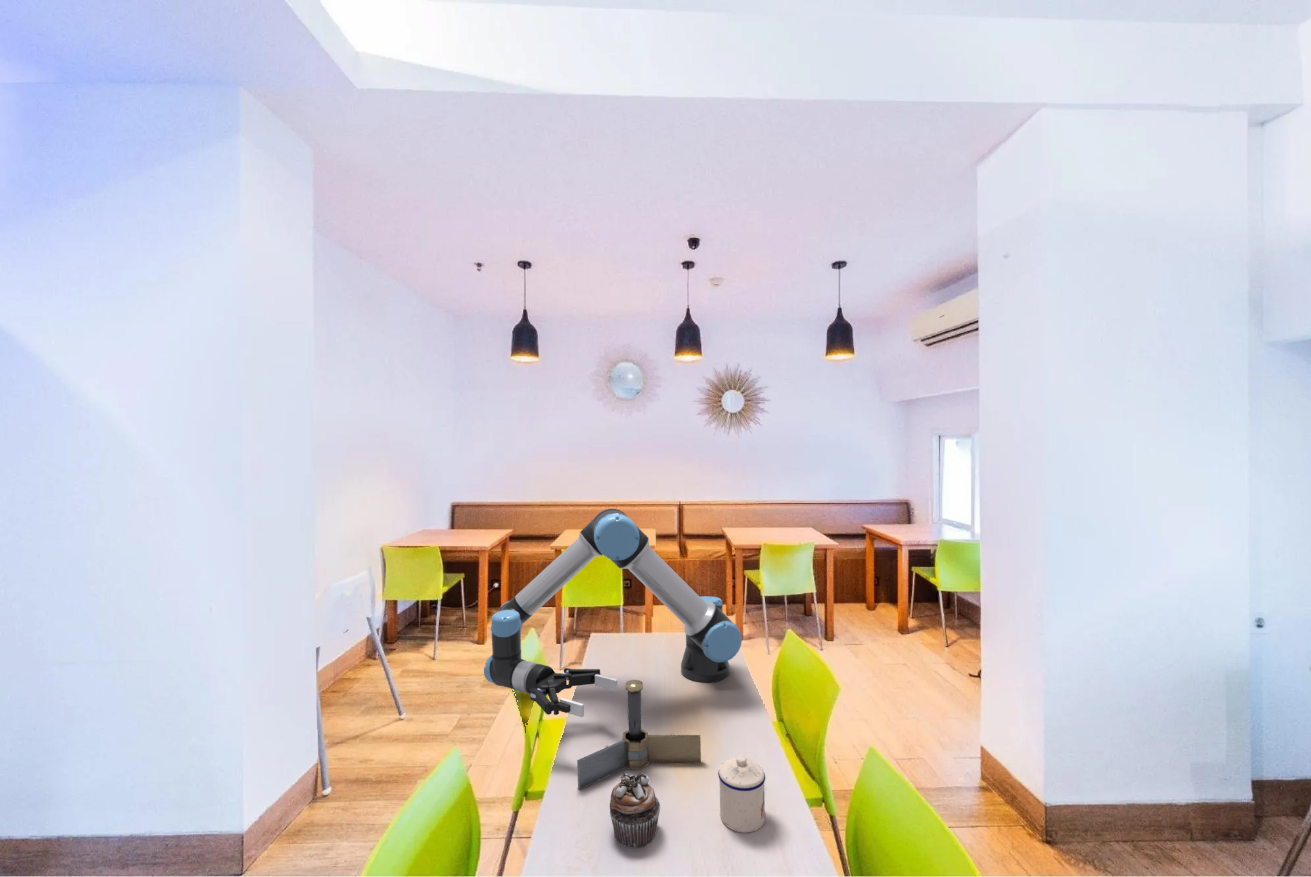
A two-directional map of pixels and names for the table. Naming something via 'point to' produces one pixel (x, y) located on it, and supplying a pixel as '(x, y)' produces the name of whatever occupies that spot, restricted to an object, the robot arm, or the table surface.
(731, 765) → the teacup with lid
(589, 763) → the hinge leaf
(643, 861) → the table surface
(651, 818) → the cupcake
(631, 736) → the hinge pin
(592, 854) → the table surface
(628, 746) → the tan flat knuckled part
